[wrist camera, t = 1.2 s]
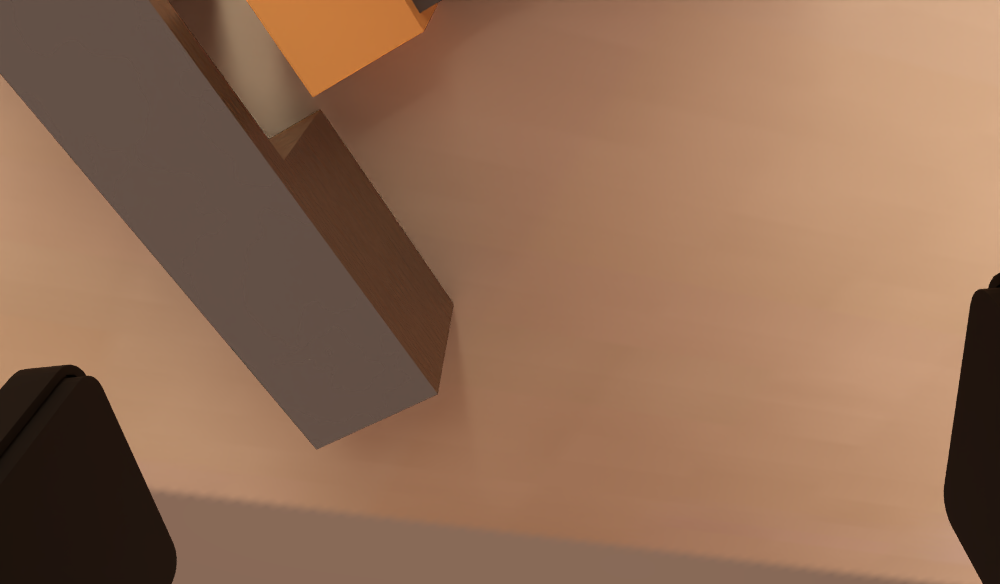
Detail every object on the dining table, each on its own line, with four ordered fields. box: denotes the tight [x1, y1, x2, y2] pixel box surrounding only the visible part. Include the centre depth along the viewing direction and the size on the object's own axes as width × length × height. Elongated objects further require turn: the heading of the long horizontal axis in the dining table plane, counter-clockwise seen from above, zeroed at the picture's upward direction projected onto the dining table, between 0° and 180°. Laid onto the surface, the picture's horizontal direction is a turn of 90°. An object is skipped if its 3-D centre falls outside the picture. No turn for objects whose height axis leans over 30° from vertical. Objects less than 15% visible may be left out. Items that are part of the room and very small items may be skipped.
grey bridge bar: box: [0, 0, 453, 450], centre depth 28 cm, size 5×24×6 cm, turn 30°
